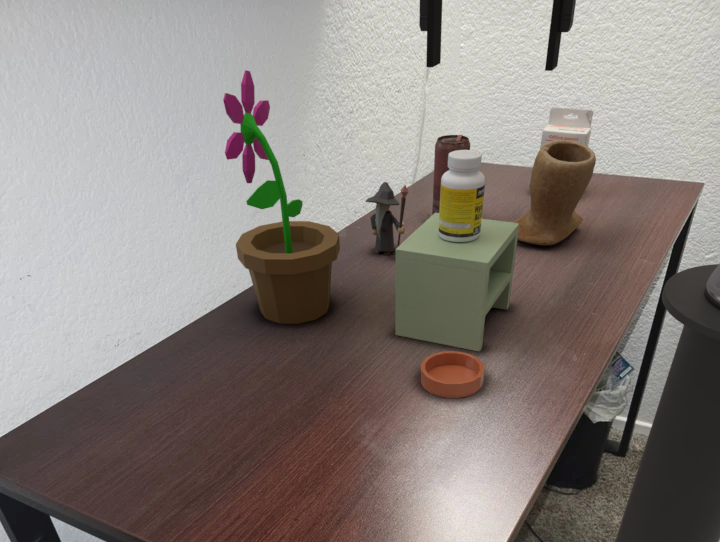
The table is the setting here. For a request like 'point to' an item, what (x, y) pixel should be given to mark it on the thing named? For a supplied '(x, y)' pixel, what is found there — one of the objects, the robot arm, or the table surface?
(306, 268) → the flowerpot
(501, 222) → the shelf
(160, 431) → the table surface
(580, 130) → the ink cartridge box
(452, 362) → the holder
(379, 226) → the wizard figurine
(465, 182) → the supplement bottle
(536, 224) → the stone cup
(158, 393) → the table surface
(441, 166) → the can
